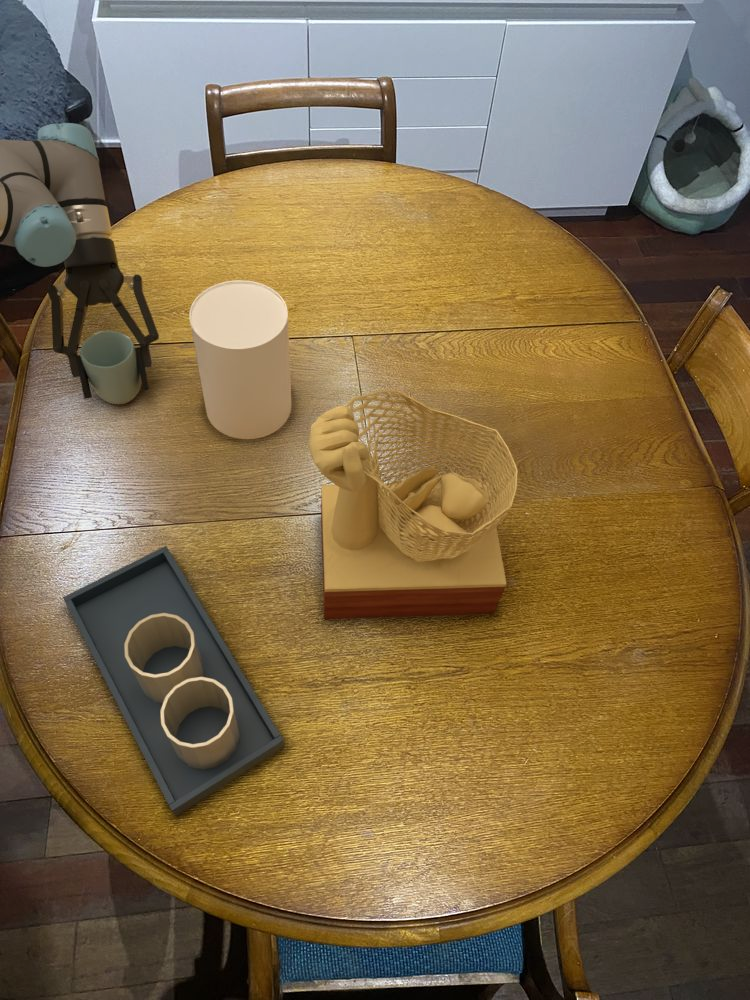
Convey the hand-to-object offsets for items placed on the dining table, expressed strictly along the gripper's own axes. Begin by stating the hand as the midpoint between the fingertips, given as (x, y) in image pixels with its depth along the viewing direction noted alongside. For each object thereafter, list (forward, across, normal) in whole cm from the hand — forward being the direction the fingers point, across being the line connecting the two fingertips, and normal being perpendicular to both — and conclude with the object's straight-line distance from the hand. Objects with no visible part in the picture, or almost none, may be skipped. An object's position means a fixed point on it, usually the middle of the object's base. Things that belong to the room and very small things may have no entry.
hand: (117, 393), depth 121 cm
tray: (+35, +3, -30) cm, 46 cm away
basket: (+28, +36, -23) cm, 51 cm away
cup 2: (+35, +3, -30) cm, 46 cm away
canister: (+5, +20, 0) cm, 20 cm away
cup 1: (0, 0, +5) cm, 5 cm away
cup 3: (+41, +6, -36) cm, 55 cm away
